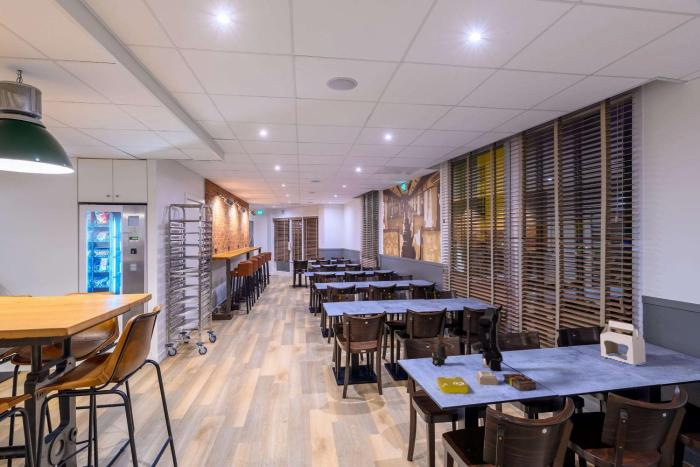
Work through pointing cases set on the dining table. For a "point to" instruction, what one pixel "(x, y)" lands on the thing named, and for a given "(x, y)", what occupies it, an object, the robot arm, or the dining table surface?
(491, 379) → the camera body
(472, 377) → the dining table surface
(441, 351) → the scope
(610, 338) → the gable box
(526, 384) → the decorative book
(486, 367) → the lens
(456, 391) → the element tile
